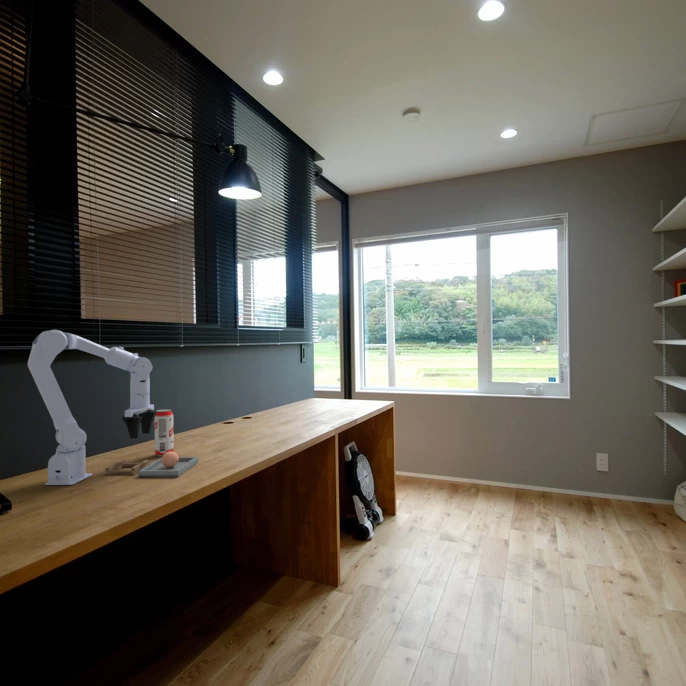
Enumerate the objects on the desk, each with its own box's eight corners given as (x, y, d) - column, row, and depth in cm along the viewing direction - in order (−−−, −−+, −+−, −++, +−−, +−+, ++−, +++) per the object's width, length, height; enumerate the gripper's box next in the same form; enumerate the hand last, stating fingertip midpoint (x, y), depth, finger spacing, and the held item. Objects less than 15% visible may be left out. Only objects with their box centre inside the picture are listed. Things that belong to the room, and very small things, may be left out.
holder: (134, 474, 129) (134, 468, 129) (105, 474, 129) (105, 468, 129) (148, 466, 138) (148, 460, 138) (121, 466, 138) (121, 460, 138)
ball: (174, 470, 131) (174, 453, 131) (158, 469, 131) (158, 453, 131) (181, 464, 136) (181, 449, 136) (165, 464, 136) (165, 449, 136)
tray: (178, 477, 126) (178, 470, 126) (138, 477, 126) (138, 471, 126) (198, 462, 142) (198, 456, 142) (162, 462, 142) (162, 456, 142)
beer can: (153, 457, 148) (153, 411, 148) (156, 453, 154) (155, 409, 154) (172, 456, 150) (172, 410, 150) (174, 452, 156) (174, 408, 156)
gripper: (140, 396, 130) (140, 440, 130) (162, 391, 145) (162, 431, 145) (118, 396, 131) (118, 440, 131) (142, 391, 145) (142, 431, 145)
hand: (140, 435), depth 138 cm, fingers open, 7 cm apart
